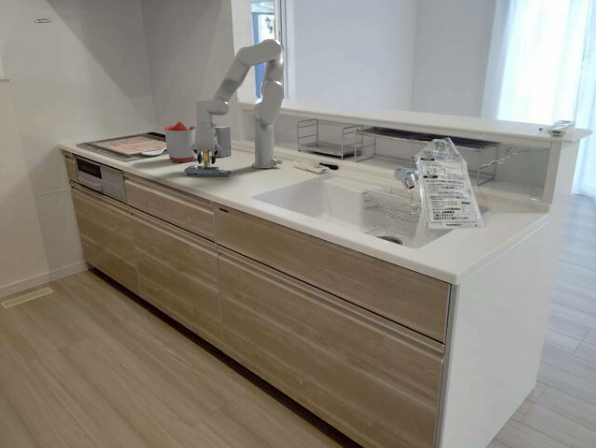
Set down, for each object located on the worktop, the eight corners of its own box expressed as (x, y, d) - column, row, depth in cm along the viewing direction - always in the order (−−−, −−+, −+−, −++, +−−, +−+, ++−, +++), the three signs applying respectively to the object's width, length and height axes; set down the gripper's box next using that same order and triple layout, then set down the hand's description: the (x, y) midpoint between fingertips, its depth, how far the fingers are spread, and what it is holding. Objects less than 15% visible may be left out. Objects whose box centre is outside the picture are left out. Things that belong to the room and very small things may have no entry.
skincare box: (221, 157, 262) (220, 128, 257) (212, 156, 266) (210, 126, 261) (232, 155, 269) (231, 126, 263) (223, 153, 273) (222, 125, 267)
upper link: (219, 173, 232) (218, 165, 230) (213, 177, 224) (213, 169, 223) (190, 171, 234) (190, 163, 232) (184, 175, 226) (184, 167, 225)
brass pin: (212, 168, 240) (211, 148, 236) (209, 170, 236) (208, 150, 233) (204, 168, 241) (203, 148, 237) (201, 170, 237) (200, 149, 233)
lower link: (231, 173, 231) (231, 169, 230) (226, 178, 223) (226, 173, 223) (202, 172, 233) (202, 167, 232) (197, 176, 225) (196, 171, 225)
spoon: (196, 150, 282) (195, 144, 281) (147, 158, 259) (147, 152, 258) (186, 147, 287) (186, 142, 286) (138, 156, 264) (137, 149, 263)
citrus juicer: (203, 157, 263) (201, 119, 256) (188, 164, 247) (186, 124, 240) (177, 155, 267) (175, 118, 260) (161, 162, 251) (157, 122, 244)
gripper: (224, 125, 233) (226, 162, 240) (190, 124, 236) (192, 160, 242) (220, 128, 226) (221, 166, 233) (184, 126, 229) (187, 164, 235)
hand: (206, 163), depth 237 cm, fingers open, 5 cm apart
